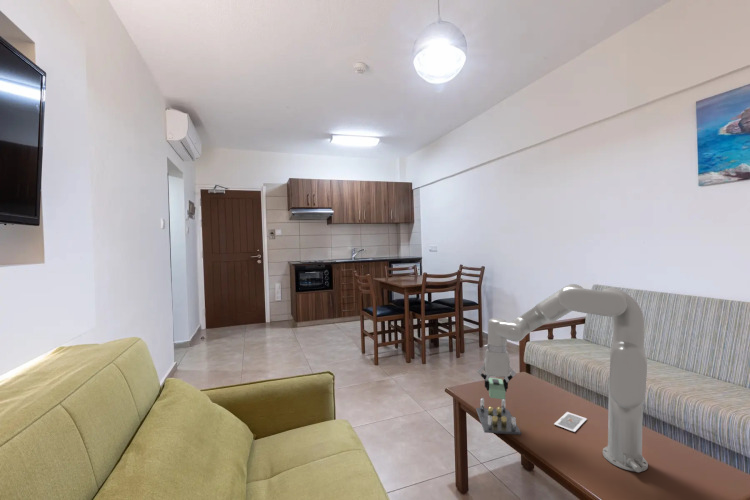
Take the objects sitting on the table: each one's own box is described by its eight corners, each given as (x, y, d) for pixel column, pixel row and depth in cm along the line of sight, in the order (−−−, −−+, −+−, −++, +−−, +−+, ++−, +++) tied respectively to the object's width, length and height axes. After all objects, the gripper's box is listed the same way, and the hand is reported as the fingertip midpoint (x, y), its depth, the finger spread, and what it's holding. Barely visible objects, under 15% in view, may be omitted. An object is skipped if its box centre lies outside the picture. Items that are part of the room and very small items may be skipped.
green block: (505, 399, 135) (505, 389, 135) (489, 397, 136) (489, 387, 136) (501, 386, 146) (502, 377, 146) (487, 385, 148) (487, 376, 148)
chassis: (520, 434, 132) (521, 419, 131) (484, 432, 133) (484, 417, 133) (508, 411, 149) (508, 398, 149) (476, 410, 151) (476, 397, 151)
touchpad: (587, 421, 142) (587, 416, 142) (574, 434, 132) (574, 429, 132) (567, 414, 148) (567, 409, 148) (553, 426, 138) (553, 421, 138)
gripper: (477, 350, 138) (476, 392, 139) (521, 352, 136) (520, 395, 137) (474, 344, 145) (473, 384, 146) (515, 346, 143) (514, 387, 144)
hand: (496, 389), depth 141 cm, fingers closed on green block, 6 cm apart
